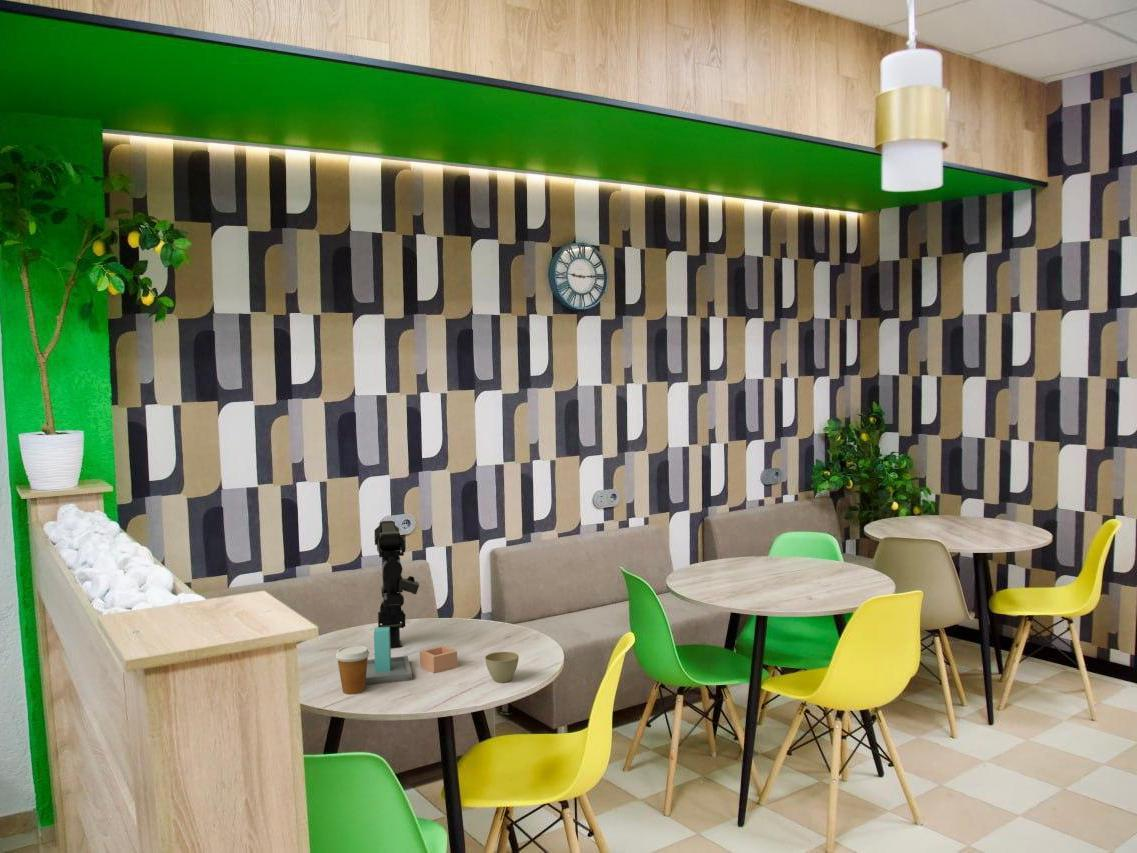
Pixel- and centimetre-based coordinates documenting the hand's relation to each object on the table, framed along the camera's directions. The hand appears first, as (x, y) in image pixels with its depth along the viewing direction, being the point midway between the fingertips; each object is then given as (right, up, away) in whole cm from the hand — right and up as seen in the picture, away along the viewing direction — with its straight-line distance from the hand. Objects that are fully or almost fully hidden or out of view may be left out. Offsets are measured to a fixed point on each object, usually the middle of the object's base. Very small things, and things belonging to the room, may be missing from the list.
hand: (393, 620), depth 292 cm
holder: (+16, -13, -7) cm, 21 cm away
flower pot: (+36, -14, -20) cm, 44 cm away
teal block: (-1, -13, -11) cm, 17 cm away
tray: (-1, -14, -12) cm, 18 cm away
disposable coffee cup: (-6, -15, -27) cm, 31 cm away
